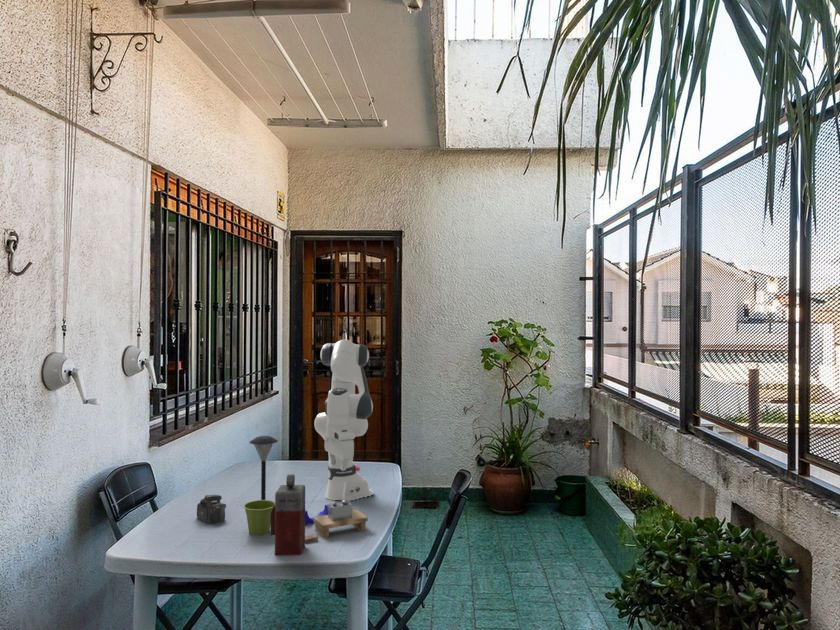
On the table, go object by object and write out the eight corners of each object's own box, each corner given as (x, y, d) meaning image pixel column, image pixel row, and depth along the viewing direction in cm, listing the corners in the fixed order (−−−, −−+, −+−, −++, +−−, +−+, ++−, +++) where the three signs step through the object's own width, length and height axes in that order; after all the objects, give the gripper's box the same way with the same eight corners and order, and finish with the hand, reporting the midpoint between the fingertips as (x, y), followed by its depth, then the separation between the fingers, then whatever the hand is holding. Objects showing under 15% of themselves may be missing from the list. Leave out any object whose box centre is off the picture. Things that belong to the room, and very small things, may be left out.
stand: (356, 524, 231) (356, 509, 231) (367, 533, 222) (367, 517, 222) (313, 533, 222) (313, 517, 222) (322, 542, 213) (322, 525, 213)
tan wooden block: (314, 542, 213) (314, 534, 213) (317, 545, 211) (318, 536, 211) (301, 545, 210) (301, 537, 210) (305, 548, 208) (305, 539, 208)
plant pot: (258, 542, 212) (258, 511, 212) (236, 536, 218) (236, 506, 218) (282, 532, 222) (282, 503, 222) (260, 526, 228) (260, 497, 228)
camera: (232, 518, 238) (232, 494, 238) (215, 526, 228) (215, 501, 228) (206, 514, 242) (207, 490, 242) (189, 521, 233) (189, 497, 233)
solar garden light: (270, 512, 245) (270, 441, 245) (243, 510, 247) (243, 439, 247) (282, 503, 257) (283, 435, 257) (256, 501, 259) (257, 434, 259)
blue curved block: (326, 517, 239) (326, 503, 239) (331, 521, 235) (331, 506, 235) (299, 523, 232) (299, 508, 232) (303, 527, 228) (303, 511, 228)
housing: (327, 517, 222) (327, 501, 222) (347, 513, 226) (347, 498, 226) (332, 521, 218) (332, 505, 218) (352, 517, 222) (352, 501, 222)
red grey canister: (272, 550, 205) (273, 471, 205) (305, 550, 205) (305, 471, 205) (267, 561, 196) (268, 478, 196) (301, 561, 196) (301, 478, 197)
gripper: (320, 427, 230) (320, 462, 230) (341, 437, 213) (341, 474, 213) (335, 425, 233) (335, 460, 234) (356, 435, 216) (356, 472, 216)
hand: (338, 467), depth 223 cm, fingers open, 8 cm apart
